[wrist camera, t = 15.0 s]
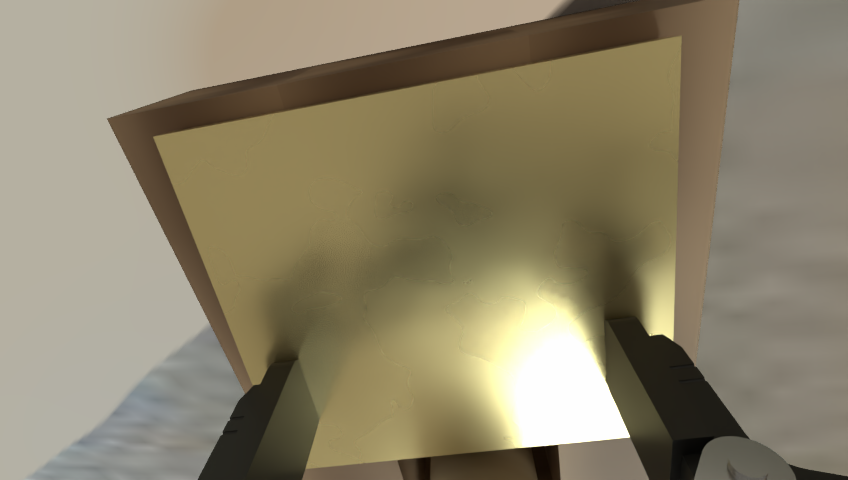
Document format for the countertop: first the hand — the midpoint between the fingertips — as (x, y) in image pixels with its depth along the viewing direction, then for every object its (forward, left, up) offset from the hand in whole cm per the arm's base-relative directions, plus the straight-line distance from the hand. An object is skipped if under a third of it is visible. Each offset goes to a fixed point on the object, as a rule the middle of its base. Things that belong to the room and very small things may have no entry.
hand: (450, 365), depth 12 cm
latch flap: (0, -2, -1) cm, 2 cm away
